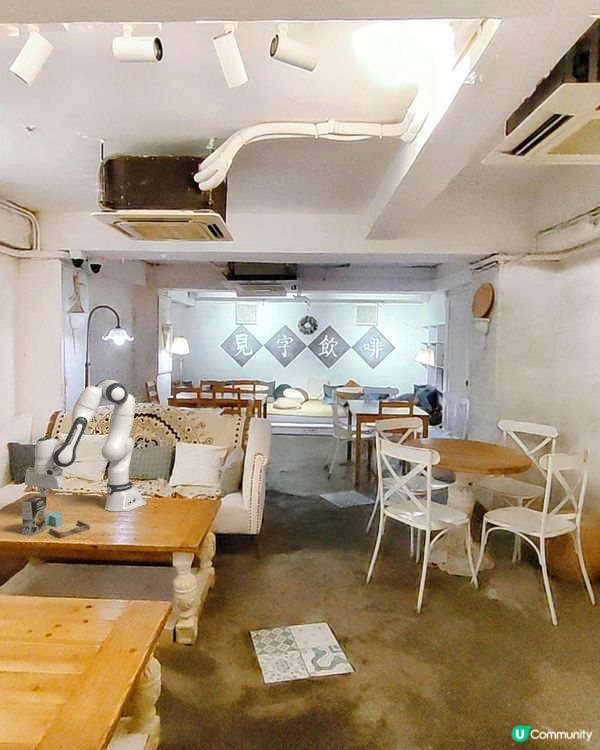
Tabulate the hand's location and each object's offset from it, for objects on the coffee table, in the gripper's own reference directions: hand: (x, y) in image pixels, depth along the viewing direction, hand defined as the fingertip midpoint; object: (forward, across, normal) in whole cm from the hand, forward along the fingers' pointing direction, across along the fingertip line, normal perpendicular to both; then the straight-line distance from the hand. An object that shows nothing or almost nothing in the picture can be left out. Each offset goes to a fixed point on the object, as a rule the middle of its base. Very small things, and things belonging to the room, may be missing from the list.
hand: (43, 495), depth 257 cm
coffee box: (+13, +7, -15) cm, 21 cm away
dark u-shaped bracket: (+12, +22, -10) cm, 27 cm away
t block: (+12, +9, -4) cm, 16 cm away
